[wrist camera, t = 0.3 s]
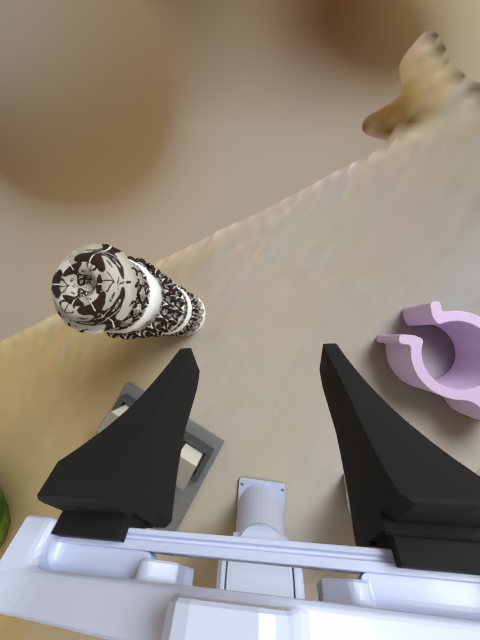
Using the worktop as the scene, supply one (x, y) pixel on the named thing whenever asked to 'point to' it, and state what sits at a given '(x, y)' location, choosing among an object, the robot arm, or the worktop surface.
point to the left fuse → (112, 417)
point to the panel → (193, 436)
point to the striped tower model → (122, 296)
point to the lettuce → (3, 519)
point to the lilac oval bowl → (469, 365)
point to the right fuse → (187, 464)
